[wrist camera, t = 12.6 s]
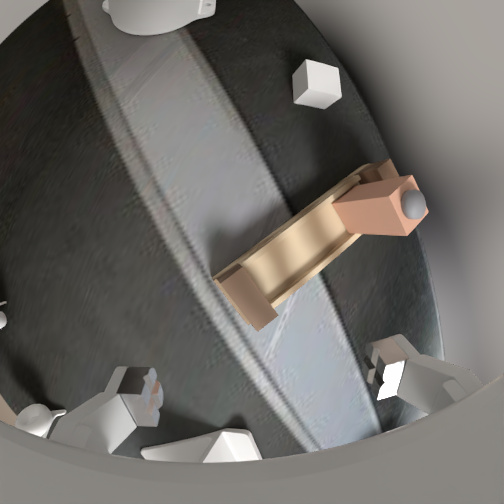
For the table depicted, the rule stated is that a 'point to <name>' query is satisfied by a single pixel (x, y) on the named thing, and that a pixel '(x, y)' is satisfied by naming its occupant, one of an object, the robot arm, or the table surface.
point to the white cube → (316, 84)
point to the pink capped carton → (382, 207)
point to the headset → (33, 410)
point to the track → (293, 251)
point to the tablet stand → (208, 448)
